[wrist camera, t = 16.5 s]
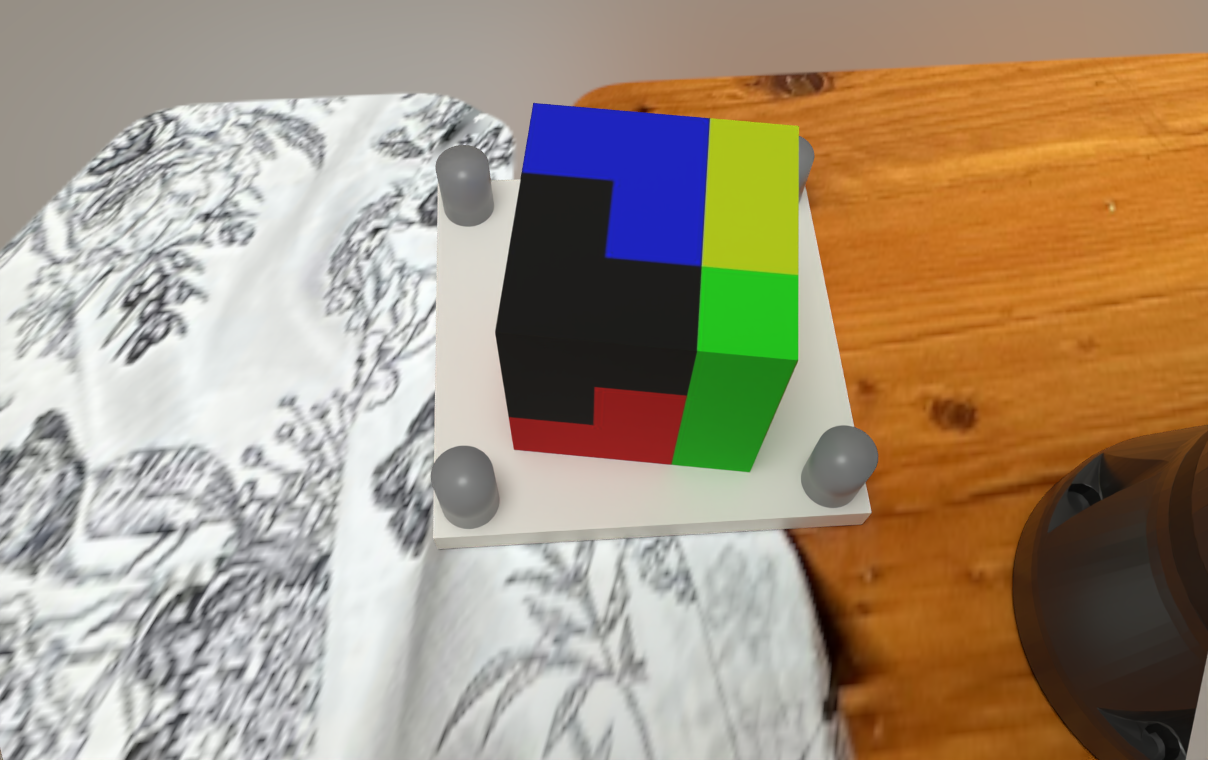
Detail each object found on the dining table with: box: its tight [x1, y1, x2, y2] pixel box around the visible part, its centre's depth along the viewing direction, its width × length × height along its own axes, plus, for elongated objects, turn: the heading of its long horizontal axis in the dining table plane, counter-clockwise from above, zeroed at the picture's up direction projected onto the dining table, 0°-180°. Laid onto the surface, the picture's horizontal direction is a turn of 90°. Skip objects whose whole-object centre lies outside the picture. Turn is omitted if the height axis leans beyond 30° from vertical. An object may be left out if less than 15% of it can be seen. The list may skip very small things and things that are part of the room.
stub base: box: [431, 136, 878, 549], centre depth 42 cm, size 18×18×4 cm
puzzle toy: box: [495, 103, 799, 472], centre depth 38 cm, size 10×10×10 cm
